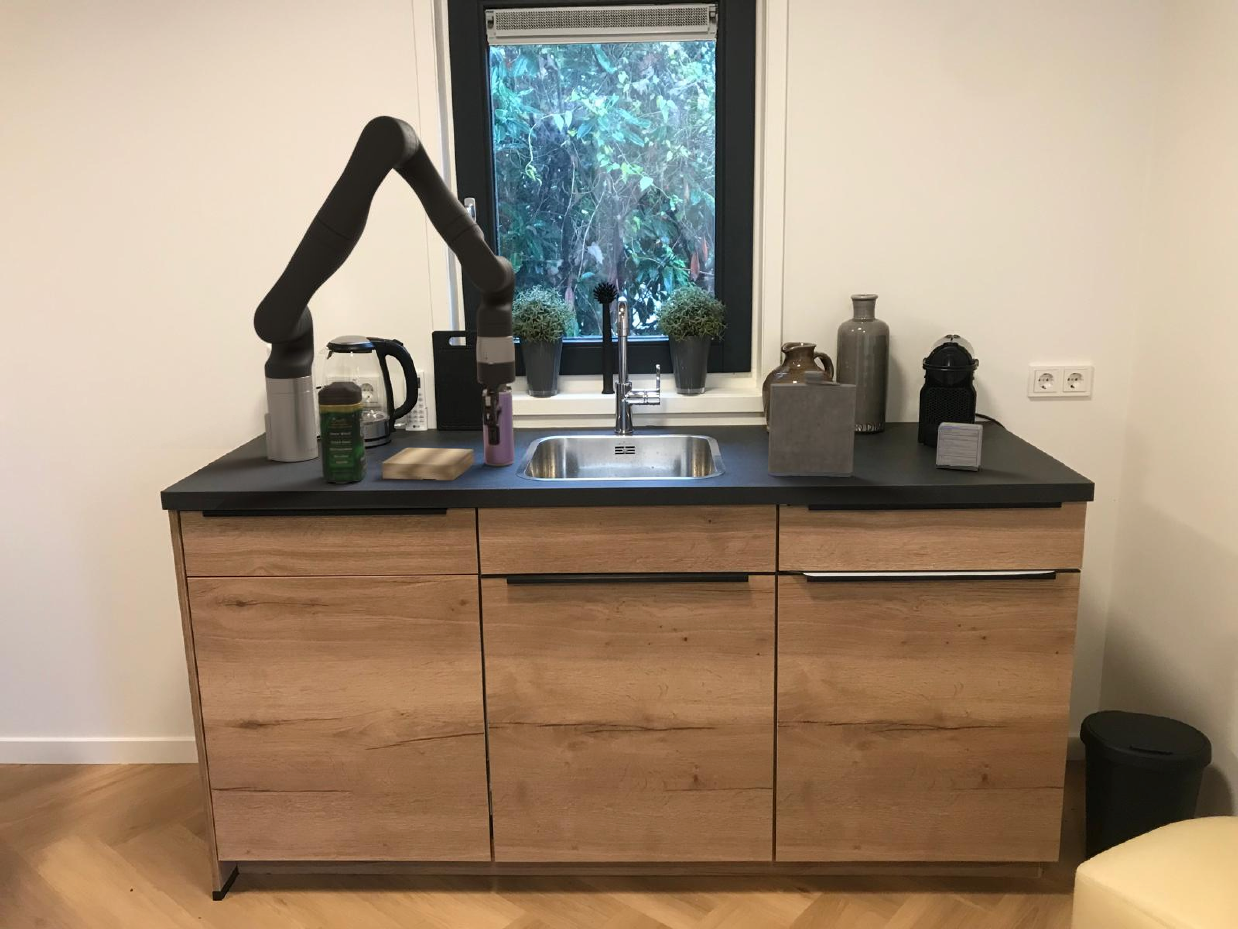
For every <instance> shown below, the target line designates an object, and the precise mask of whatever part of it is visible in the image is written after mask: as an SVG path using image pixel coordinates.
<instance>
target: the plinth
mask: <svg viewBox="0 0 1238 929" xmlns="http://www.w3.org/2000/svg"><path fill="white" fill-rule="evenodd" d="M474 453H475V451H474V449H473V448H469V449H467V448H440V447H439V448H436V447H435V448H434V447H433V448H432V447H406V448H404V449H402V450H400V451H399V452H397V453H396V454H394V455H392V456H391V457H389V458H388V459H386V460H384V461H383V462H381V469H382V479H398V480H423V479H436V480H435V481H455V480H456V479H457V478H458V477H460V475H462V474H463V473H464V472H466V471H468V469H469V468H471V467H472V466H473V465H475V454H474Z"/></svg>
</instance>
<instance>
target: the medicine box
mask: <svg viewBox="0 0 1238 929" xmlns="http://www.w3.org/2000/svg"><path fill="white" fill-rule="evenodd" d="M983 429H984V428H983V425H982V424H973V423H960V422H959V423H958V422H945V421H944V422H941V423H940V425H939V426H938V430H937V431H938V433H937V434H938V435H937V447H936V464H937V465H950V466H974V467H978V466H979V465H980V466H981V459H982V458H981V457H982V446H983V445H982V443H983V442H982V441H983ZM936 464H935V465H936Z"/></svg>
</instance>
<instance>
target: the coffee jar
mask: <svg viewBox="0 0 1238 929" xmlns="http://www.w3.org/2000/svg"><path fill="white" fill-rule="evenodd" d="M362 391H363V390H362V387H361V386H359V384H356V383H355V382H354V381H333V382H332V383H330V384H328V385H326V386H324V387H322V388H321V389H320V390H319V391H318V392H317V403H318V415H319V427H320V428H319V430H320V444H321V446H320V447H321V448H320V449H321V465H322V478H323V480H324V481H325V482H327V483H328V482H331V483H335V484H347V483H350V482H358V481H361V480H362V479H363V478H364V477H365V476H366V475H367V459H366V444H365V443H366V442H365V441H366V440H365V426H364V424H365V423H364V407H363V406H364V405H363V404H364V403H363V402H364V401H363V396H362V395H363V393H362Z"/></svg>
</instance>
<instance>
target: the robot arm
mask: <svg viewBox="0 0 1238 929" xmlns="http://www.w3.org/2000/svg"><path fill="white" fill-rule="evenodd" d="M392 169H393V170H394V171H395V172H396V173H397V174H398V175H399V176H400V177H401V178H402V179H403V180H404V182H406V183H407V184H408V186H410V188H411V189H412V190H413V191H412V192H414V194H415V195H416V196H417V198H418V200H419V201H420V204H421V205H422V208H423V210H424V212H425V214H426V215H427V217H428V219H429V220H430V223H431V224H432V226H433V227H434V228H435V231H436V232H437V233H438V235H439V236H440V237H441V239H442V240H443V241H444V242H445V244H446V245H447V246H448V247H449V249H450V250H451V251H452V252H453V254H455V256H456V258H457V261H458V262H459V264H460V266H461V268H462V269H463V272H464V273H465V275H466V276H467V278H468V279H469V281H470V282H471V283H472V285H473V286H474V287H475V288H476V289H477V290H479V291H480V293H481V294H480V296H481V298H480V300H481V301H480V306H479V307H478V309H477V311H476V335H477V337H476V338H477V340H476V368H477V371H476V372H477V374H476V375H477V376H476V377H477V382H478V383H480V384H482V385H486V386H487V387H486V389H487V396H482V395H481V406H482V408H481V409H482V424H483V423H484V425H486V426H488V443H489V445H499V444H500V427H499V425H500V416H502V415H503V410H502V409H503V405H502V403H501V404H500V407H499V410H497V411H496V405H498V404H499V392H501V391H503V390H505V388H506V389H510V390H511V391H512V386H511V385H507V384H513V383H514V382H516V357H515V356H516V355H515V354H516V353H515V352H516V351H515V350H516V348H515V341H514V331H513V330H514V329H513V323H514V322H513V314H512V312H513V305H514V296H515V288H516V287H515V286H516V278H515V277H516V275H515V270H514V266H513V265H512V263H511V262H510V260H509V259H508V258H505V257H504V256H501V255H495V254H494V252H493V251H492V250H491V248H490V247H489V245H488V244H487V242H486V241H485V235H484V232H483V230H482V228H480V226H479V225H478V223H477V222H476V221H475V219H474V218H473V216H471V214H470V213H469V212H468V210H467V209H466V208H465V206H464V205H463V204H462V203H461V201H460V200H459V199H458V198H457V196H456V195H455V194H454V192H453V191H452V190H451V188H450V187H449V185H448V183H446V181H445V180H444V179H443V177H442V176H441V174H440V172H439V170H437V168H436V166H435V164H434V163H433V161H432V160H431V157H430V155H429V154H428V152H427V150H426V148H425V146H424V145H423V143H422V141H421V139H420V138H419V136H418V134H417V132H416V130H415V129H414V128H413V126H412V125H411V124H410V123H408V122H407V121H405V120H403V119H400V118H396V117H394V116H391V115H378V116H376V117H374V118H371V120H369V121H368V123H366V125H365V126H364V127H363V129H362V131H361V133H360V135H359V136H358V138H357V141H356V143H355V146H354V149H353V151H352V152H351V155H350V157H349V159H348V161H347V163H346V165H345V167H344V169H343V171H342V172H341V175H340V176H339V178H338V179H337V181H336V182H335V184H334V186H333V187H332V189H331V190H330V192H329V194H328V195H327V196H326V199H325V200H324V202H323V204H322V205H321V207H320V208H319V209H318V210H317V211H318V212H317V213H316V214H315V216H314V218H313V219H312V221H311V223H309V224H310V225H309V226H308V227H307V229H306V231H305V233H304V235H303V237H302V239H301V240H300V242H299V243H298V246H297V247H296V249H295V251H294V252H293V254H292V256H291V257H290V260H289V261H288V264H287V265H286V267H285V269H284V271H283V272H282V273H281V274H280V276H279V278H278V279H277V280H276V282H275V283H274V285H273V286H271V288H270V290H269V291H268V292H267V293H266V295H265V296H264V297H263V299H262V300H261V301H260V303H259V304H258V305H257V307H256V309H255V311H254V314H253V328H254V330H255V333H256V335H257V337H258V338H259V339H260V340H262V341H263V342H265V343H267V344H270V345H271V350H270V354H269V356H268V358H267V360H266V361H265V362H264V363H265V364H264V366H263V369H264V379H265V389H266V390H265V391H266V401H267V402H266V403H267V413H265V414H264V416H263V417H264V419H263V420H264V428H265V430H264V431H265V439H266V440H265V442H266V450H267V451H266V452H267V460H273V461H276V462H285V463H287V462H290V463H291V462H301V461H308V460H313V459H315V458H317V457H318V456H319V451H318V450H319V449H318V448H319V447H318V446H319V445H318V438H317V436H318V435H317V423H316V411H315V398H314V397H315V395H314V384H313V363H314V359H315V339H314V338H315V335H314V320H313V315H312V312H311V310H310V308H309V306H308V304H309V303H310V301H311V299H312V298H313V296H314V295H315V293H316V292H317V291H318V290H319V289H320V288H321V287H322V286H323V285H324V284H325V283H326V282H327V281H328V280H330V278H331V277H332V276H333V275H334V274H335V273H336V272H337V271H339V269H340V268H341V266H343V265H344V264H345V262H346V261H347V260H348V258H349V257H350V256H351V254H352V253H353V251H354V249H355V247H356V246H357V244H358V243H359V240H360V239H361V237H362V235H363V233H364V231H365V229H366V225H367V223H368V219H369V218H368V217H369V214H370V210H371V206H372V202H373V200H374V197H375V195H376V193H377V191H378V189H379V187H380V186H381V185H382V183H383V182H384V180H385V179H386V177H387V176H388V175H389V173H390V172H391V171H392ZM491 415H493V419H490V416H491Z"/></svg>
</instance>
